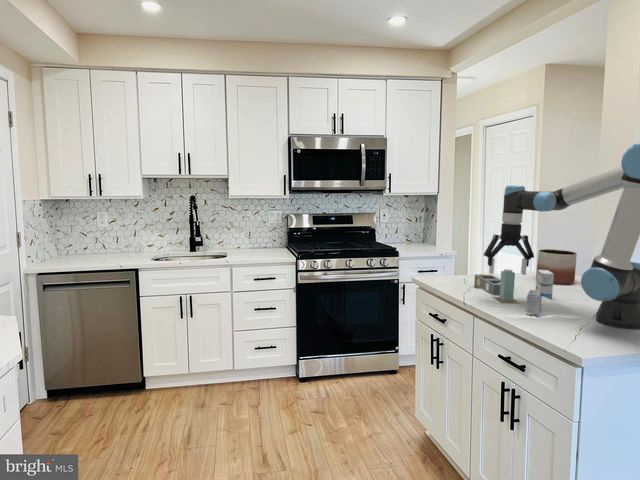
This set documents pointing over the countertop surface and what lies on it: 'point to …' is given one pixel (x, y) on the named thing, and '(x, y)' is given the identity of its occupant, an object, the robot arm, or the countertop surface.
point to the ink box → (545, 283)
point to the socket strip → (488, 283)
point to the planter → (558, 264)
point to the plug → (507, 285)
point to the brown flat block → (505, 301)
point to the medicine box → (534, 302)
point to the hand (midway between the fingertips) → (507, 273)
